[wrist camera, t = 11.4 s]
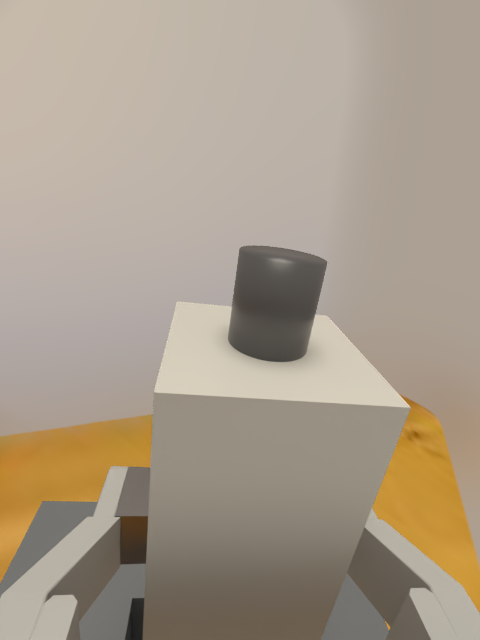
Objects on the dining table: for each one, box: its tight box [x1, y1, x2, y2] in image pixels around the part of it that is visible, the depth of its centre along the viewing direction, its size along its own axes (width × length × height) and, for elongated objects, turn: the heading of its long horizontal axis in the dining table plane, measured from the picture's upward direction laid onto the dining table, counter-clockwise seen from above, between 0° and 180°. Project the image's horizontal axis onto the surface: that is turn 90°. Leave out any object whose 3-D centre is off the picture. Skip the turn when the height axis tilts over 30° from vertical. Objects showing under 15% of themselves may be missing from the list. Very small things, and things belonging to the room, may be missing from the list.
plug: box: [143, 246, 411, 640], centre depth 9 cm, size 4×4×14 cm
